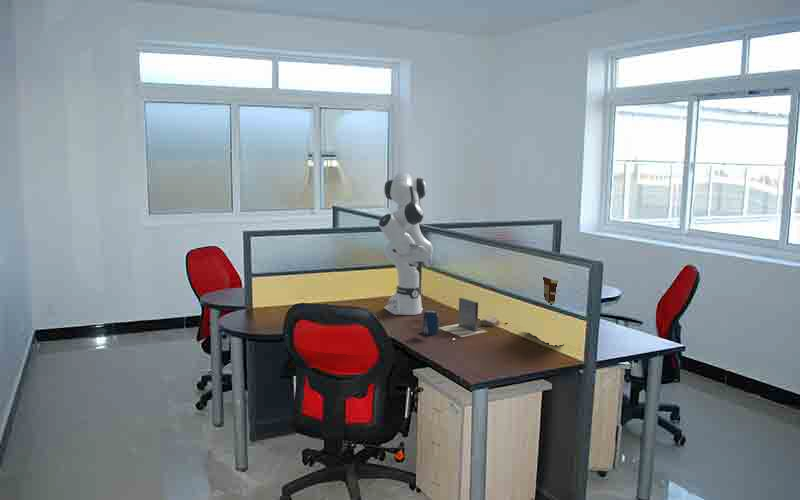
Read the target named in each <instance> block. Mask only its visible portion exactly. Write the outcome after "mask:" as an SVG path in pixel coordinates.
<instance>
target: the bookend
mask: <svg viewBox="0 0 800 500" xmlns="http://www.w3.org/2000/svg"><path fill="white" fill-rule="evenodd" d="M478 312H479V302H478V301H475V300H471V299H467V298H464V297H459V298H458V324H459V326H460V327H462V328H465V329H468V330H471V331H474V332H477V331H482V330H483V329H482V330H481V328H479V329H478V324H479V323H478V321H479V320H478V319H479V318H478V316H479V313H478Z"/></svg>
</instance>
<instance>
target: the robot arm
mask: <svg viewBox="0 0 800 500" xmlns="http://www.w3.org/2000/svg"><path fill="white" fill-rule="evenodd" d="M427 190H428V186H427V183H426V181H425V179H424V178H421V177H420V178H419V177H417V178H416V177H412V176H411V174H409V173H408V172H404V171H403V172H402V171H401V172H398V173H396V175H395V176H394V177H393V179H389V180H387V181H386V182H385V183H384V186H383V193H384V195H385V198H386V199H388V200H391V201H393V202H394V203H395V204H396V205H397V210H394V211H393V212H391V213H386V214H384V215H383V216H382V217H381V218H380V220H379V222H378V227H379V228H380V230H381V232H382V234H383V235H384V236H385V237H386V239H387V240H388V242H387V244H386V246H385V248H384V254H385V256H386V258H387V259H388V260H389V261H390V262H391V263H393V265H394V266H395V268H396V271H397V276H398V281H397V282H398V285H397V286H395V288H396V291H395V293H394V294H393V295H392V296H390V297H389V299H388V304H387V305H386V306H384V307H383V308H384V309H385V310H386V311H388V312H389V313H391V314H392V315H395V316H396V315H400V316H401V315H402V316H416V315H419V314H422V312H423V310H424V308H423V306H422V305H423V304H422V296H421V286H420V272H419V270H418V269H417V268H418V267H419V262H420V263H421V262H422V263H423V264H424V266H425V267H426V268H430V267H431V263H430V262H429V261H430V259H431V257H432V255H433V252H434V248H433V244H432V243H431V241H429V240H428V239H427V238H426V237H425V236H424V235H423V233H422V231H421V229H420V223H422V221H423V218H424V212H423V207H422V206H421V204H422V203H421V200H422V199H423V198H424V197H425V196H426V193H427ZM411 265H412V266H411Z"/></svg>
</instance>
